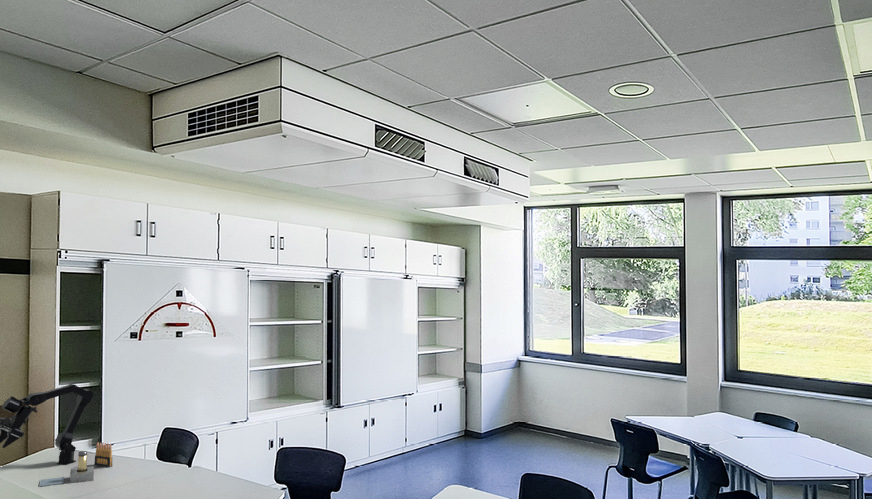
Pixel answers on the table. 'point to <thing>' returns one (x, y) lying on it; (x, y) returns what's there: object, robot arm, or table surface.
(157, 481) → the table surface
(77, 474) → the metal housing
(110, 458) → the ammunition clip
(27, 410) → the robot arm
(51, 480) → the rubber mat
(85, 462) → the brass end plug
